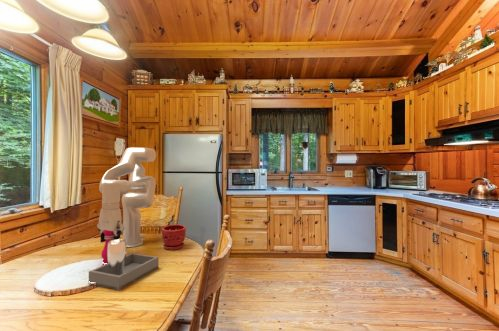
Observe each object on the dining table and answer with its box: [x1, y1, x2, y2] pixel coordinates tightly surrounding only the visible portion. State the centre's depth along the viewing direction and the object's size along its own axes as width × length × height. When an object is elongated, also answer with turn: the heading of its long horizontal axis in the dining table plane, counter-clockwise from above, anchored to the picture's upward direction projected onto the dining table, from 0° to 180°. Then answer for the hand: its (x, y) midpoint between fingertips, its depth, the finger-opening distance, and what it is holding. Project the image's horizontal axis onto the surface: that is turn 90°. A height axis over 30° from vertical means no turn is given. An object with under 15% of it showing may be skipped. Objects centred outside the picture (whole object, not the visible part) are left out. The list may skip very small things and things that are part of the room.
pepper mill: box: [101, 228, 117, 263], centre depth 119 cm, size 7×7×20 cm
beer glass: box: [107, 238, 127, 275], centre depth 101 cm, size 7×7×15 cm
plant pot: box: [161, 224, 187, 251], centre depth 142 cm, size 13×13×12 cm
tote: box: [88, 252, 160, 291], centre depth 105 cm, size 22×15×5 cm
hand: (110, 242), depth 119 cm, fingers open, 7 cm apart
